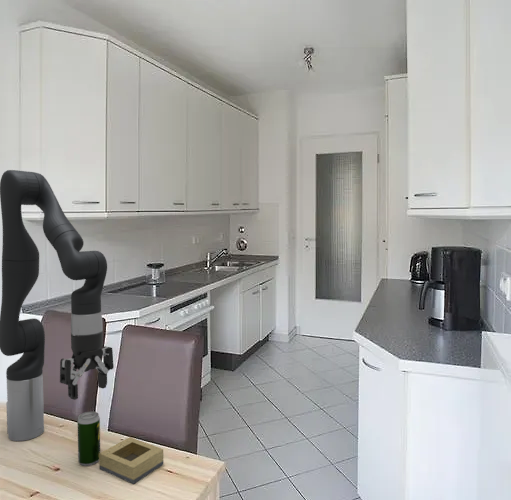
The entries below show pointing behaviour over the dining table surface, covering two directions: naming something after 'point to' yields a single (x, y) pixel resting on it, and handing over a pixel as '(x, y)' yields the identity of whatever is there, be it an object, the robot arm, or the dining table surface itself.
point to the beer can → (88, 438)
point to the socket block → (131, 460)
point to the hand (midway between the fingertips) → (88, 393)
